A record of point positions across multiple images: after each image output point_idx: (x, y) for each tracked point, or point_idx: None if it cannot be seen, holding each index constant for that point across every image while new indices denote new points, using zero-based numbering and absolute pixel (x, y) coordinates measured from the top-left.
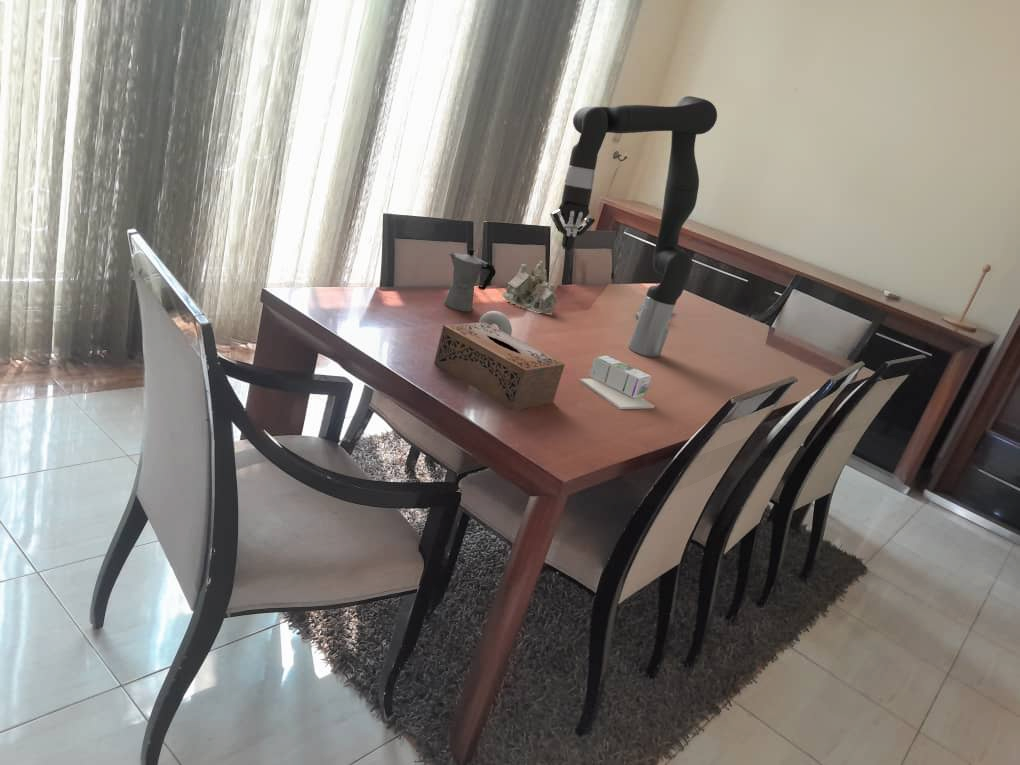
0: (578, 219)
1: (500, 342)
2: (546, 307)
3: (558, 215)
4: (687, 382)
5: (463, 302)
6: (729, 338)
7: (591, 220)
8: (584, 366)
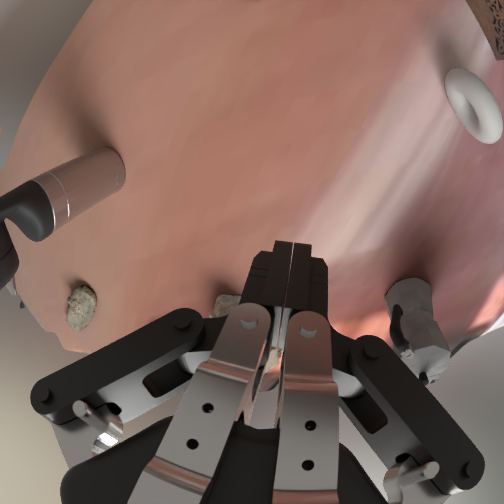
0: (194, 459)
1: (499, 11)
2: (228, 306)
3: (422, 483)
4: (89, 62)
5: (419, 288)
6: (29, 258)
7: (54, 402)
8: (267, 36)
